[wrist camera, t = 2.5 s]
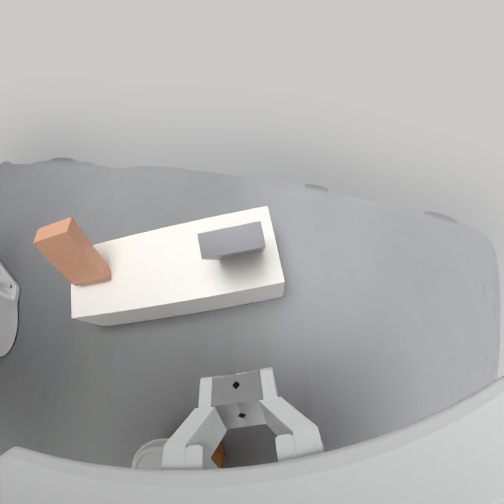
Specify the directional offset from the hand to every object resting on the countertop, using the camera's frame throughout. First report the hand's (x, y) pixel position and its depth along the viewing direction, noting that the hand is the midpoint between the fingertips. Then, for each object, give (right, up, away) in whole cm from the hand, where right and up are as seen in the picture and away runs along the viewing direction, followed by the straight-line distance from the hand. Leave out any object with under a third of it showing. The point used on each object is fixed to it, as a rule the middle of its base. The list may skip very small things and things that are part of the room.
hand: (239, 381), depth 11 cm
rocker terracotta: (-19, +3, +20) cm, 27 cm away
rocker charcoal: (-1, +6, +20) cm, 21 cm away
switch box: (-9, +1, +28) cm, 30 cm away
